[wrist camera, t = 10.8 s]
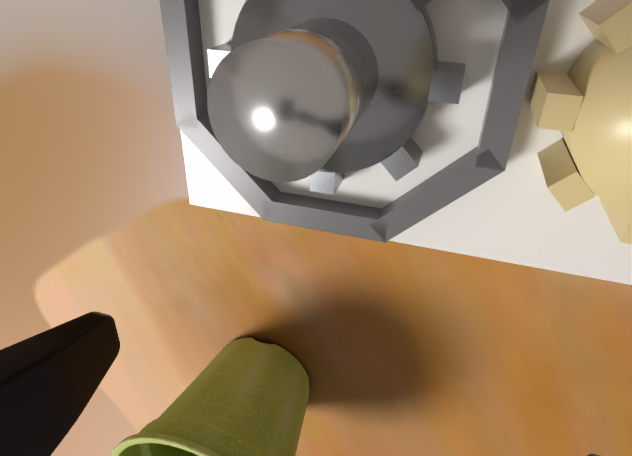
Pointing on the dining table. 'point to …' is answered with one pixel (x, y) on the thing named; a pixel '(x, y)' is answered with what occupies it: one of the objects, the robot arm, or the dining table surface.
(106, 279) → the dining table surface
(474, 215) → the plate
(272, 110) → the planet gear
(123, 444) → the plant pot
